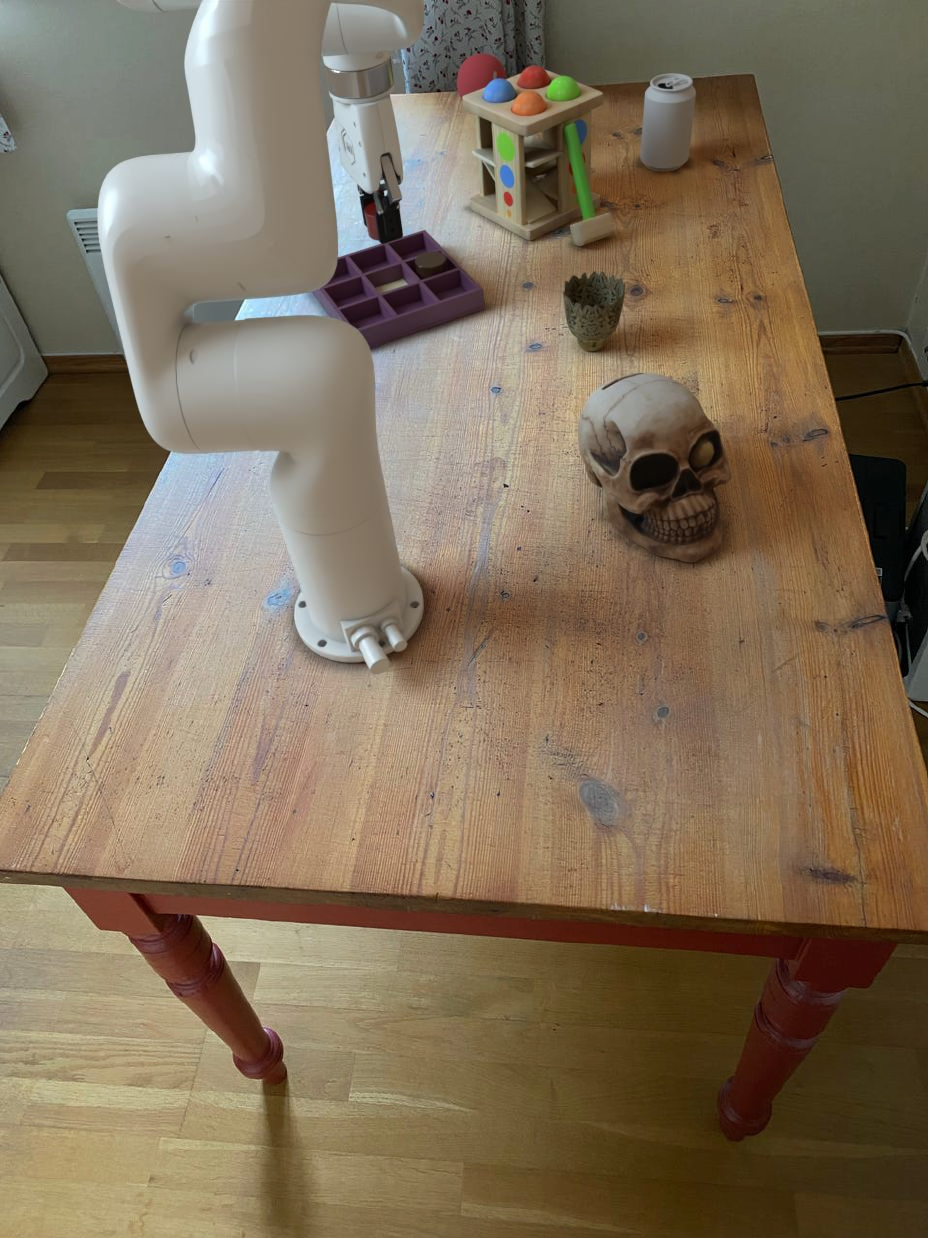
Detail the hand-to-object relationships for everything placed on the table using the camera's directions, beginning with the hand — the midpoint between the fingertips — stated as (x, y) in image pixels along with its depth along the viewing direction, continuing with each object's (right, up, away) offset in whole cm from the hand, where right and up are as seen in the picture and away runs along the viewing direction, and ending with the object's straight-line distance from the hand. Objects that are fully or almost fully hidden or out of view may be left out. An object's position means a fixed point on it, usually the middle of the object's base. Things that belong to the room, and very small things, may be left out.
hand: (383, 230), depth 115 cm
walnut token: (+6, -3, +8) cm, 11 cm away
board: (+1, -6, +7) cm, 10 cm away
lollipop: (+14, +26, +33) cm, 44 cm away
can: (+42, +22, +26) cm, 54 cm away
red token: (0, 0, 0) cm, 0 cm away
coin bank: (+30, -38, -21) cm, 53 cm away
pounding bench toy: (+24, +10, +18) cm, 31 cm away
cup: (+26, -16, -3) cm, 31 cm away
